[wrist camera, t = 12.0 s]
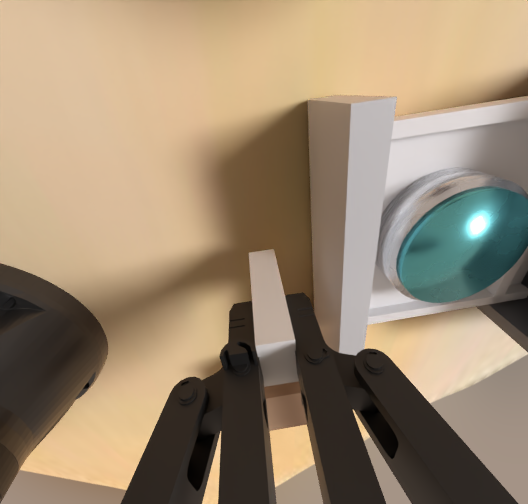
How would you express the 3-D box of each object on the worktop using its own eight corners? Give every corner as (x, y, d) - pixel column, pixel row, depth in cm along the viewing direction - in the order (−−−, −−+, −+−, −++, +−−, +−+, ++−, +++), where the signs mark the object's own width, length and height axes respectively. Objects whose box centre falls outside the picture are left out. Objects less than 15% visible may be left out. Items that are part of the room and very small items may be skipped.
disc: (364, 287, 18) (384, 315, 16) (382, 175, 14) (412, 192, 12) (470, 272, 19) (505, 298, 16) (518, 159, 15) (575, 172, 12)
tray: (314, 322, 22) (337, 387, 17) (307, 99, 13) (350, 103, 8) (495, 291, 22) (569, 348, 17) (609, 53, 13) (826, 30, 8)
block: (256, 376, 26) (261, 432, 21) (248, 344, 23) (252, 401, 19) (305, 368, 26) (319, 422, 22) (303, 335, 23) (318, 389, 19)
